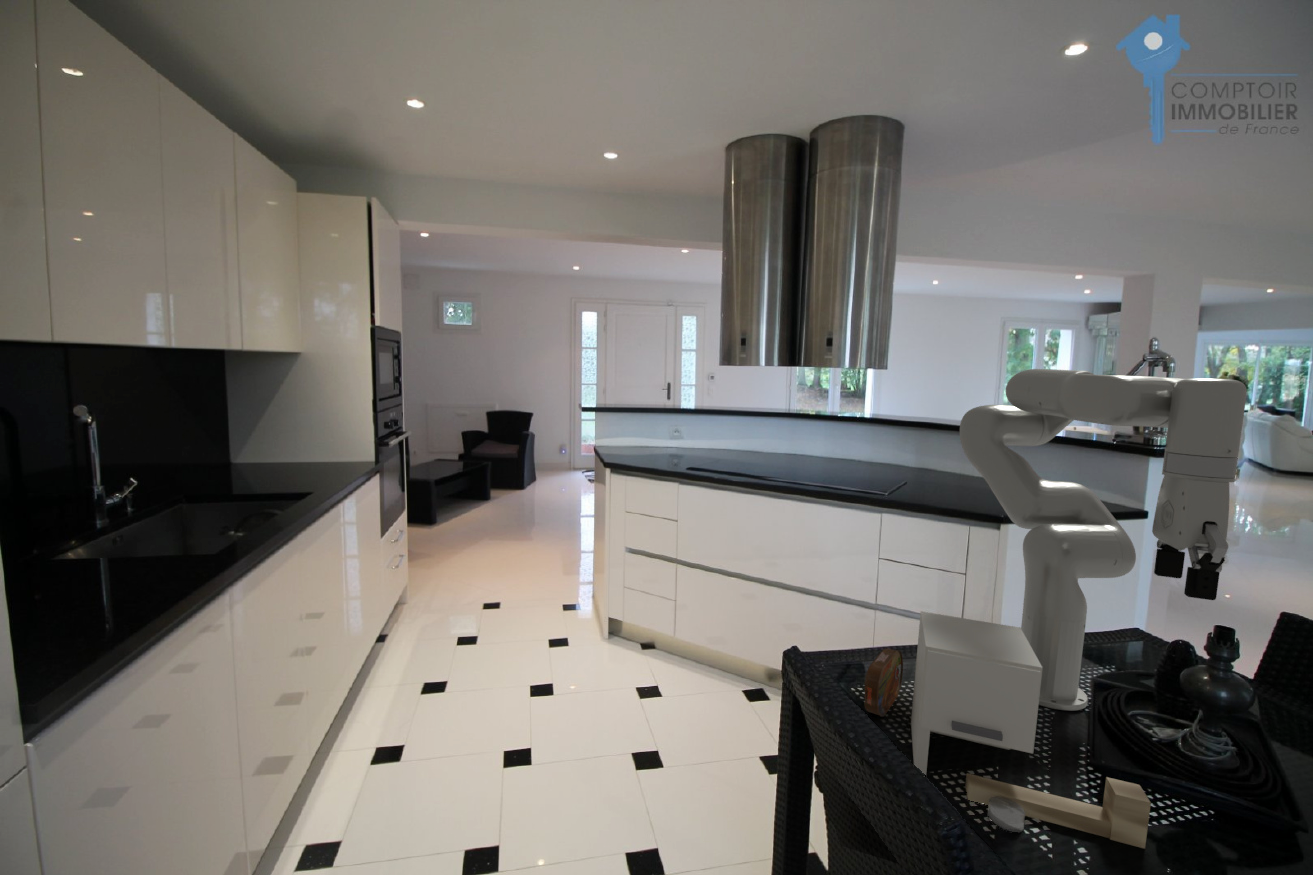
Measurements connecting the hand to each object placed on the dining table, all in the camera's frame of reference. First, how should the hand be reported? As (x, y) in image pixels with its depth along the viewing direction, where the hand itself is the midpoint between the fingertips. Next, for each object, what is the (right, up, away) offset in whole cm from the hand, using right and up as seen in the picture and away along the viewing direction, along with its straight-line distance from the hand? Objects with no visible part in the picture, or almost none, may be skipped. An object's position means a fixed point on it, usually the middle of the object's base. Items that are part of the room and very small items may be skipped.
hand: (1182, 586), depth 84 cm
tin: (-35, -25, +19) cm, 48 cm away
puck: (-30, -28, -8) cm, 42 cm away
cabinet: (-29, -27, +4) cm, 40 cm away
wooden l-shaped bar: (-23, -28, -7) cm, 37 cm away
